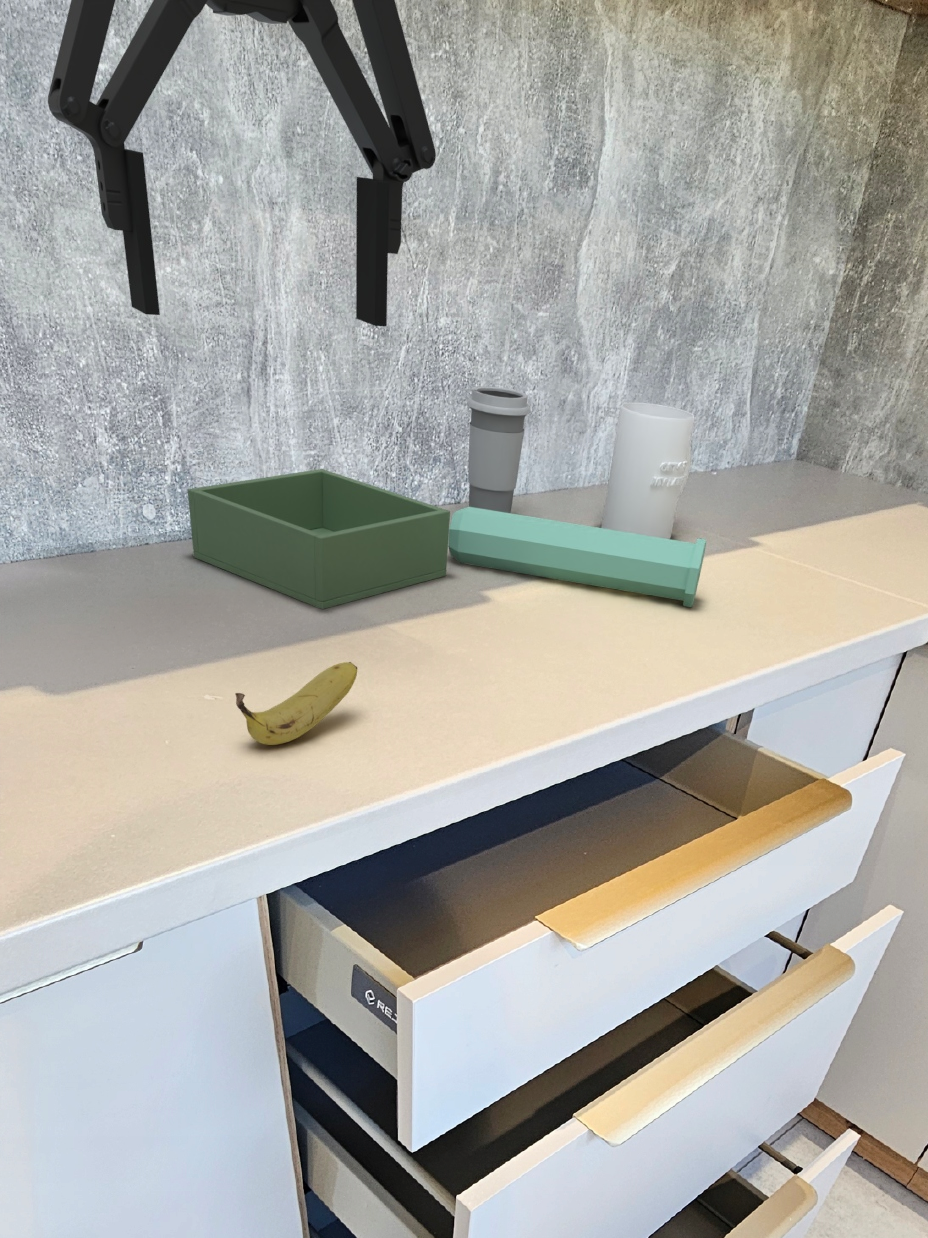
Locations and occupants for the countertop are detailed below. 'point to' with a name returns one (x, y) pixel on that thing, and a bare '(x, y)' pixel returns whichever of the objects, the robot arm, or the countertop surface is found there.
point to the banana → (300, 706)
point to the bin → (319, 535)
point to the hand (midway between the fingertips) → (264, 318)
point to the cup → (495, 446)
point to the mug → (648, 469)
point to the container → (577, 553)
